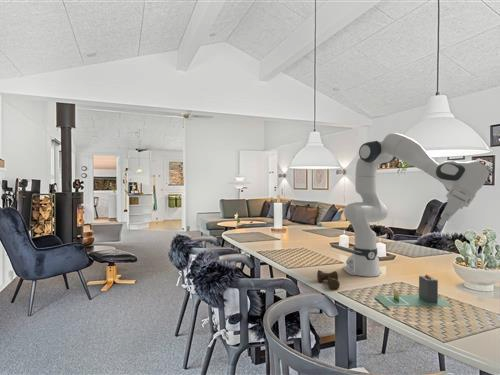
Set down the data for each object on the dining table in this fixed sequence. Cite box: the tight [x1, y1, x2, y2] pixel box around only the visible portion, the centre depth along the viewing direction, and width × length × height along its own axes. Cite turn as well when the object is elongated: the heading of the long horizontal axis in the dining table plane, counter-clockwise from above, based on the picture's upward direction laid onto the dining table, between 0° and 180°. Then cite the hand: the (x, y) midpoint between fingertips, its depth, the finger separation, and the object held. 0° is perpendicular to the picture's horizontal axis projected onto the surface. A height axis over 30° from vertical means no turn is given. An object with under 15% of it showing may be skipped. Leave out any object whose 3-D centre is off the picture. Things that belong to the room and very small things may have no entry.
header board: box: [373, 294, 454, 311], centre depth 139 cm, size 13×26×2 cm, turn 91°
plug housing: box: [418, 274, 439, 303], centre depth 139 cm, size 7×4×10 cm, turn 1°
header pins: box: [393, 288, 400, 302], centre depth 138 cm, size 4×1×4 cm, turn 2°
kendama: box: [316, 269, 341, 291], centre depth 167 cm, size 6×10×20 cm
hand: (439, 225), depth 140 cm, fingers open, 8 cm apart
